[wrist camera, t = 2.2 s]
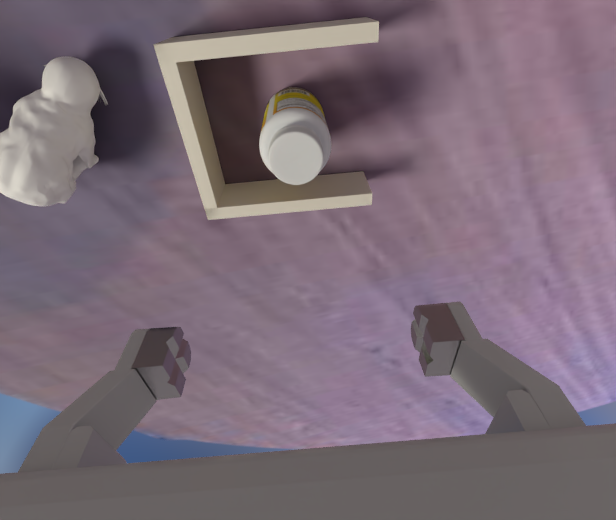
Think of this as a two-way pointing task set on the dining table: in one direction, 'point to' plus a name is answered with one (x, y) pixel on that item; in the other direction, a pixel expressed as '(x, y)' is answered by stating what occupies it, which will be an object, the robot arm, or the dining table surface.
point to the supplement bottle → (294, 136)
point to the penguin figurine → (51, 135)
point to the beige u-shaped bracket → (198, 135)
